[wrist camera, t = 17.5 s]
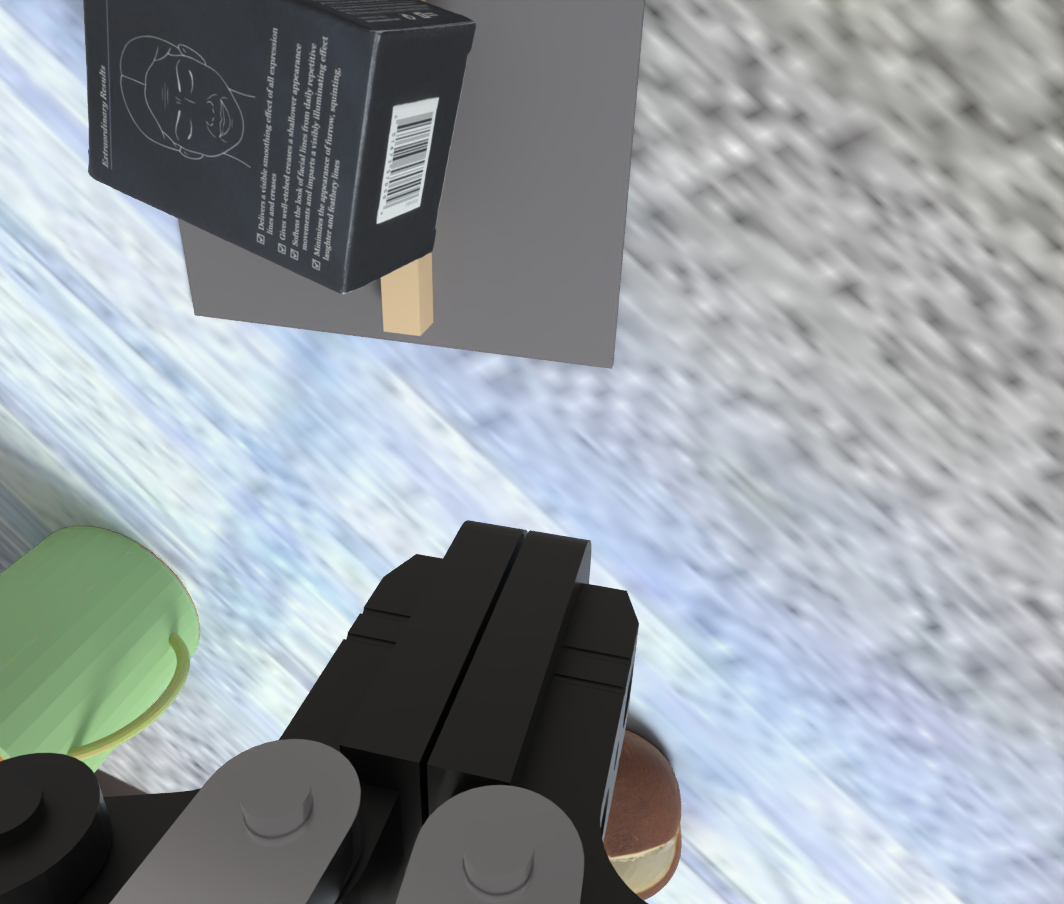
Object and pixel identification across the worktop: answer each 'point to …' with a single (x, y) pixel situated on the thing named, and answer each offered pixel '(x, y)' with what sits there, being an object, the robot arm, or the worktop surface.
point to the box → (282, 123)
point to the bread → (644, 818)
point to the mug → (89, 644)
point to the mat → (492, 203)
